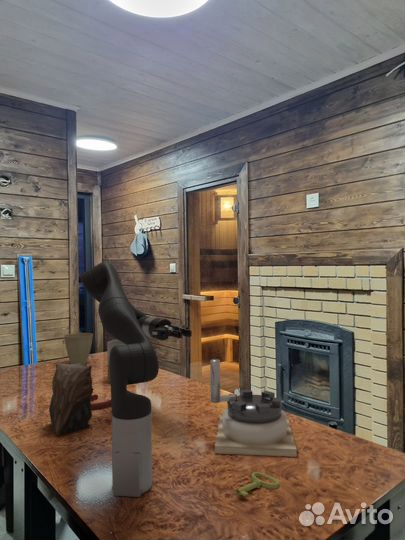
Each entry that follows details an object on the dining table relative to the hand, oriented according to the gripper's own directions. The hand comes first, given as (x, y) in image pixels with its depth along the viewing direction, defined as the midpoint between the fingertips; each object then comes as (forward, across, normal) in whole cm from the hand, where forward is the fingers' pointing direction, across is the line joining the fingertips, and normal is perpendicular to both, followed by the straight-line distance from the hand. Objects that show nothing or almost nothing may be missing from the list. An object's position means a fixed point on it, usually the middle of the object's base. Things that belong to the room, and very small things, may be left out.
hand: (185, 334), depth 126 cm
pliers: (-40, -18, +31) cm, 53 cm away
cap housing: (+19, +11, +28) cm, 36 cm away
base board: (+19, +11, +30) cm, 37 cm away
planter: (-63, +9, +30) cm, 70 cm away
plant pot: (-106, +6, +30) cm, 110 cm away
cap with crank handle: (+17, +10, +23) cm, 30 cm away
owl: (-25, -30, +30) cm, 49 cm away
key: (+37, -7, +31) cm, 49 cm away
